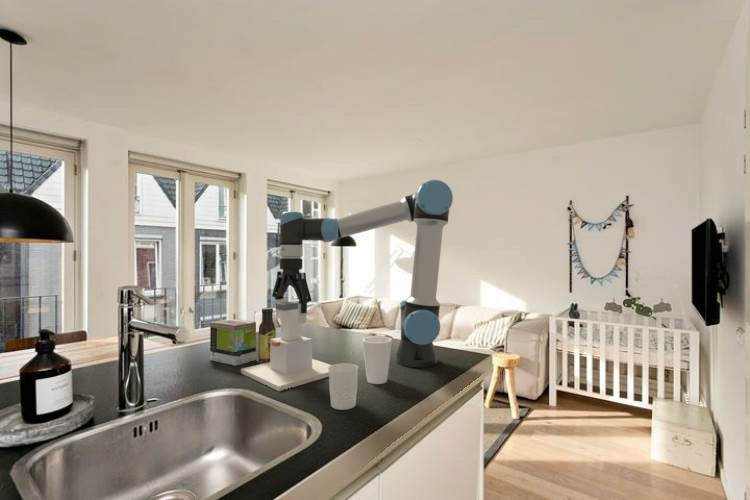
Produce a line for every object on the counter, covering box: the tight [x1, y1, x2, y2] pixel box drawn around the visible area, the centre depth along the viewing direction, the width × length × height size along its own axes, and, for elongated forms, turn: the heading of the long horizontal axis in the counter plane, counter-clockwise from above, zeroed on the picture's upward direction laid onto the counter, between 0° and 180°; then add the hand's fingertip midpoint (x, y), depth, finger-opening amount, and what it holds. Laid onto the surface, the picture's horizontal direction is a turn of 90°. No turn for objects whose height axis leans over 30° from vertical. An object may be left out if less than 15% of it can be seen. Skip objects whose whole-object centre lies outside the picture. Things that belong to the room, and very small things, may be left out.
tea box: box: [209, 318, 257, 367], centre depth 143 cm, size 15×10×15 cm, turn 58°
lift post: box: [275, 300, 303, 342], centre depth 128 cm, size 5×9×22 cm, turn 135°
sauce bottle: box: [257, 307, 277, 364], centre depth 141 cm, size 7×6×20 cm
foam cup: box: [361, 335, 393, 385], centre depth 120 cm, size 10×9×13 cm
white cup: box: [328, 362, 359, 411], centre depth 101 cm, size 8×8×10 cm
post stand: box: [240, 335, 332, 392], centre depth 128 cm, size 24×24×12 cm
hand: (290, 320), depth 128 cm, fingers open, 13 cm apart
